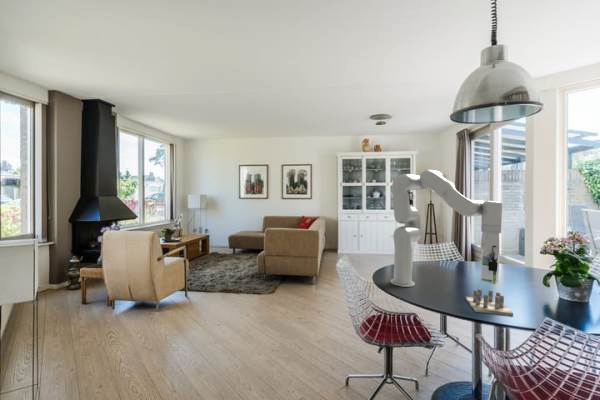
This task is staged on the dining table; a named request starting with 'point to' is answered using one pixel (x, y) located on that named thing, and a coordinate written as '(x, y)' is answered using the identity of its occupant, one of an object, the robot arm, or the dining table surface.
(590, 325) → the dining table surface
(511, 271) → the dining table surface
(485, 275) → the syrup box
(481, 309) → the pin tray
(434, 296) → the dining table surface
